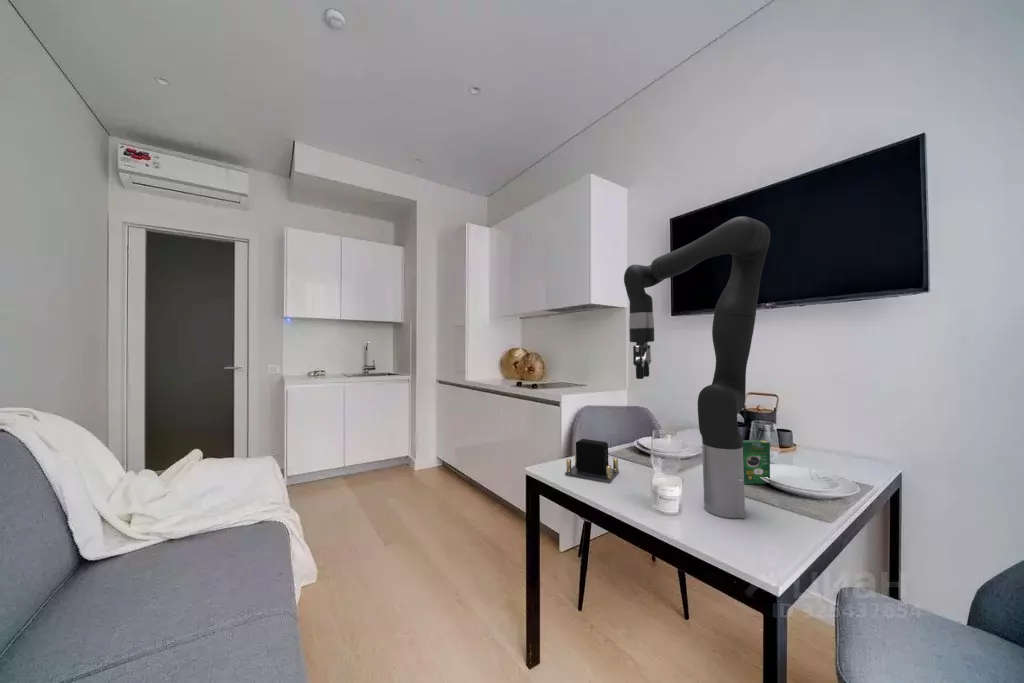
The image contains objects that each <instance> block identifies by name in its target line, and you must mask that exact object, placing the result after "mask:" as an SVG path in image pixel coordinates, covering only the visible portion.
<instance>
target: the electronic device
mask: <svg viewBox="0 0 1024 683" xmlns="http://www.w3.org/2000/svg"><path fill="white" fill-rule="evenodd" d="M575 453H576V468H577V470H579V471H583V472H588V473H594V474H599V475H604V474H605V473H606V465H610V464H609V444H608V442H607V441H600V440H594V439H587V438H580V439H578V440H577V441H576V442H575Z"/></svg>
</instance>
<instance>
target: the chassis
mask: <svg viewBox="0 0 1024 683" xmlns="http://www.w3.org/2000/svg"><path fill="white" fill-rule="evenodd" d="M565 462H566V466H565V467H566V471H565V477H570V478H571V477H573V478H576V479H577V478H578V479H583V480H588V481H594V482H599V483H605V484H611V483H612V482H613V480H614V479H615V478H616V477H617V476H618V474H619V473H620V470H619V458H615V457H614V458H612V462H613V463H612V465H610V464H609V465H606V473H605V474H604V475H599V474H594V473H588V472H583V471H579V470H577V468H576V452H575V453H574V465H573V466H572V459H571V458H567V459H566V461H565ZM612 466H613V467H612Z"/></svg>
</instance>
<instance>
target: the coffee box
mask: <svg viewBox="0 0 1024 683" xmlns="http://www.w3.org/2000/svg"><path fill="white" fill-rule="evenodd" d="M743 471H744V485H767V484H766V483H765V482H764V481H763V480H762V479H761V478H760V477H768V478H770V479H771V444H770V442H769V441H767V440H761V439H759V440H757V439H756V440H751V439H750V440H748V439H743Z"/></svg>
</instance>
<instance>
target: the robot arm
mask: <svg viewBox="0 0 1024 683" xmlns="http://www.w3.org/2000/svg"><path fill="white" fill-rule="evenodd" d="M770 243H771V231H770V228H769V227H768V226H767V224H766V223H764V222H762V221H760V220H758V219H755V218H752V217H748V216H743V215H741V216H736V217H733V218H731V219H729V220H727V221H725V222H724V223H722V224H721V225H719V226H717V227H715V228H714V229H713V230H710V231H709V232H708V233H706V234H704V235H702V236H701V237H699V238H697V239H695V240H693V241H692V242H690V243H688V244H686V245H684V246H681V247H680V248H677V249H674V250H672V251H670V252H667V253H665V254H663V255H660V256H658V257H656V258H654V259H653V261H652V262H651V264H648V265H641V264H631V265H629V266H628V267H627V268H626V270H625V271H624V275H623V282H624V287H625V291H626V294H627V297H628V300H629V321H628V325H629V326H628V328H629V332H628V333H629V342H630V343H635V345H633V347H632V349H633V350H632V351H633V352H632V354H633V359H632V360H633V365H634V367H635V378H636V379H637V380H643V379H644V378H645V377H650V365H651V363H652V358H651V356H652V355H651V345H650V344H648V343H651V342H652V343H653V342H655V318H654V309H653V308H654V306H653V304H654V302H653V298H652V296H651V295H650V294H648V293H647V292H646V290H645V289H647V288H651V287H654V286H656V285H657V284H659V283H662V281H664V280H666V279H669V278H673V277H676V276H679V275H681V274H683V273H686V272H687V271H689V270H691V269H692V268H693V267H695V266H697V265H698V264H699V263H701V262H703V261H705V260H708V259H712V258H713V257H718V256H722V255H729V254H730V255H732V261H731V262H732V263H731V271H730V276H729V279H728V281H727V284H726V286H725V288H724V289H723V291H722V292H721V294H720V296H719V298H718V300H717V302H716V303H715V304H716V305H715V308H714V313H713V321H712V328H711V330H712V331H711V332H712V333H711V335H712V336H711V337H712V343H713V350H714V356H715V369H714V373H713V378H712V381H711V384H709V385H706V386H705V387H703V388H702V389H701V390H700V391H699V394H698V396H697V419H698V430H699V434H700V436H701V440H702V441H701V442H702V444H701V445H702V449H701V450H702V480H703V481H702V482H703V483H702V484H703V507H704V508H703V509H705V510H706V512H708V513H710V514H712V515H714V516H717V517H721V518H727V519H746V504H745V502H746V498H745V484H744V471H743V440H744V438H743V436H742V435H741V434H740V432H739V427H738V426H739V424H738V414H740V413H741V412H742V410H743V409H744V407H745V403H746V391H747V390H746V388H747V387H746V381H747V379H746V378H747V366H748V361H749V357H750V352H751V348H752V347H751V346H752V342H753V341H752V340H753V335H754V329H755V324H756V317H757V307H758V301H759V292H760V286H761V278H762V273H763V269H764V265H765V261H766V257H767V254H768V250H769V247H770Z"/></svg>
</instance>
